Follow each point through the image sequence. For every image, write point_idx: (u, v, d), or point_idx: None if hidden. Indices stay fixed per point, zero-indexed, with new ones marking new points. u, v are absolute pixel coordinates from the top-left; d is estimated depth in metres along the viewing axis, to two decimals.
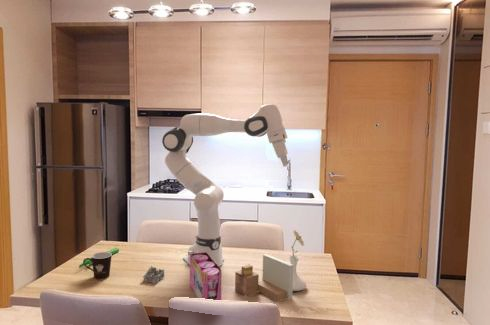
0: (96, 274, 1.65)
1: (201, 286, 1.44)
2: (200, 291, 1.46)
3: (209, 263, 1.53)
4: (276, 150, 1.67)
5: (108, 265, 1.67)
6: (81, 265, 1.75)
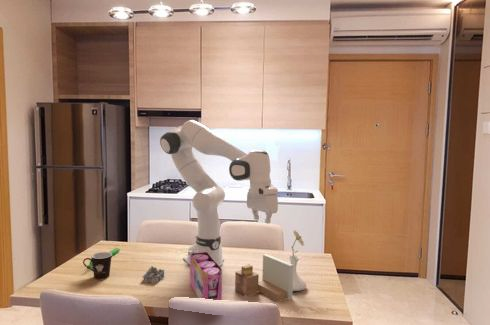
0: (96, 274, 1.65)
1: (201, 286, 1.45)
2: (200, 291, 1.46)
3: (209, 263, 1.54)
4: (270, 205, 1.47)
5: (108, 265, 1.67)
6: (88, 266, 1.74)
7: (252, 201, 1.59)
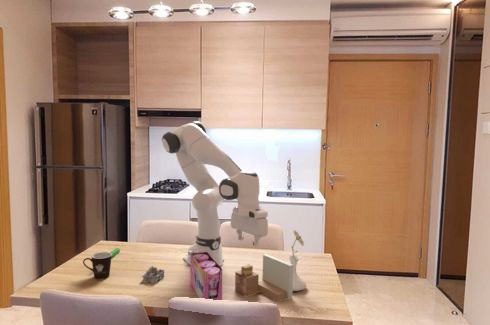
0: (96, 274, 1.65)
1: (202, 285, 1.45)
2: (201, 290, 1.46)
3: (210, 262, 1.54)
4: (261, 228, 1.46)
5: (108, 265, 1.67)
6: None
7: (238, 222, 1.57)
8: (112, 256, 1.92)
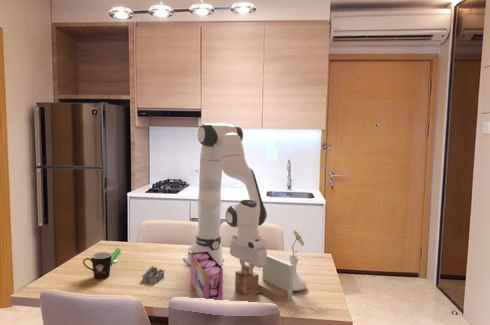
0: (96, 274, 1.65)
1: (202, 285, 1.46)
2: (201, 290, 1.47)
3: (210, 262, 1.55)
4: (260, 259, 1.48)
5: (108, 265, 1.67)
6: None
7: (237, 250, 1.58)
8: None
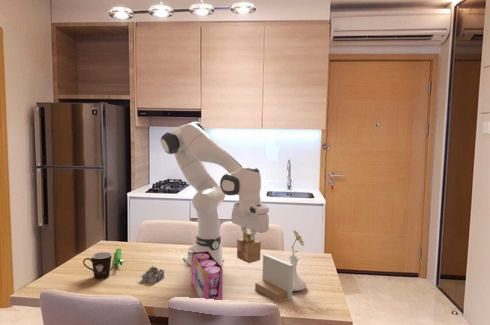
0: (96, 274, 1.65)
1: (202, 284, 1.46)
2: (201, 289, 1.47)
3: (210, 262, 1.55)
4: (262, 224, 1.46)
5: (108, 265, 1.67)
6: (117, 266, 1.74)
7: (239, 217, 1.56)
8: None
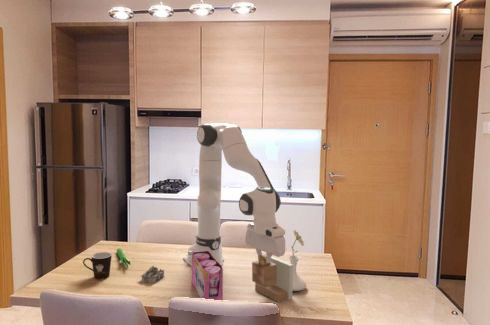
0: (96, 274, 1.65)
1: (203, 284, 1.46)
2: (202, 289, 1.48)
3: (211, 261, 1.55)
4: (279, 248, 1.41)
5: (108, 265, 1.67)
6: (127, 265, 1.76)
7: (253, 239, 1.51)
8: None
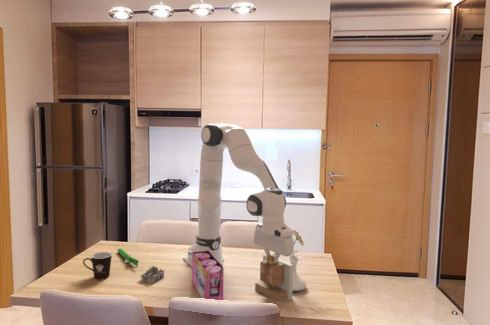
0: (96, 274, 1.65)
1: (203, 283, 1.47)
2: (202, 288, 1.48)
3: (211, 261, 1.56)
4: (287, 248, 1.44)
5: (108, 265, 1.67)
6: None
7: (262, 239, 1.54)
8: None
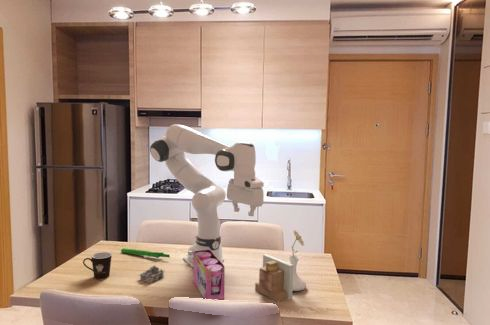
0: (96, 274, 1.65)
1: (205, 282, 1.48)
2: (204, 287, 1.49)
3: (212, 260, 1.57)
4: (257, 198, 1.46)
5: (108, 265, 1.67)
6: None
7: (234, 193, 1.57)
8: None
